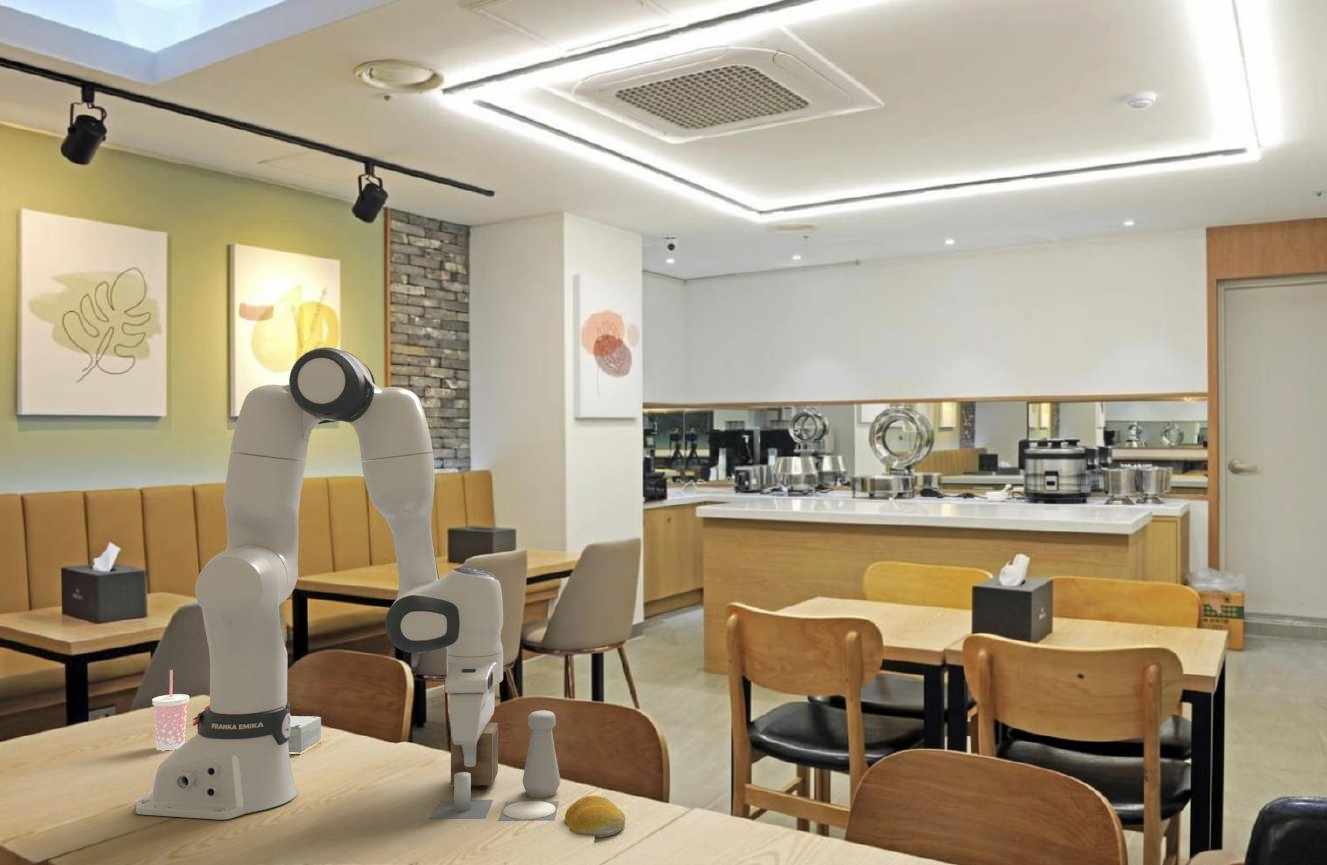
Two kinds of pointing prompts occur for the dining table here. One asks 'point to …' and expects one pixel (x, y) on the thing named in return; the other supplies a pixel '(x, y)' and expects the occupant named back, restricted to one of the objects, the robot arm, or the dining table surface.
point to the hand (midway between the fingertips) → (474, 758)
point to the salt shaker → (541, 757)
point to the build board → (529, 811)
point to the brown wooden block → (479, 758)
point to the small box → (304, 732)
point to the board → (470, 814)
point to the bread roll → (595, 817)
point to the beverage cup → (170, 719)
